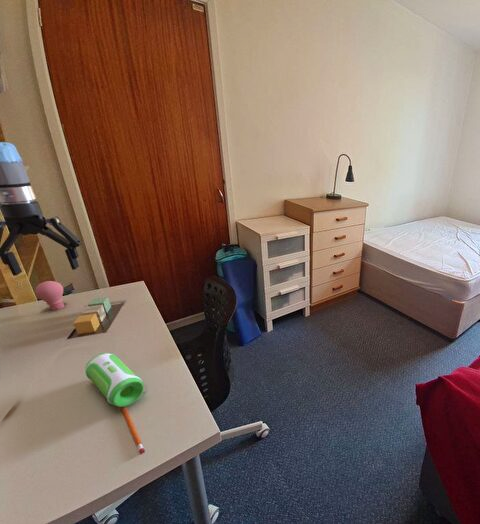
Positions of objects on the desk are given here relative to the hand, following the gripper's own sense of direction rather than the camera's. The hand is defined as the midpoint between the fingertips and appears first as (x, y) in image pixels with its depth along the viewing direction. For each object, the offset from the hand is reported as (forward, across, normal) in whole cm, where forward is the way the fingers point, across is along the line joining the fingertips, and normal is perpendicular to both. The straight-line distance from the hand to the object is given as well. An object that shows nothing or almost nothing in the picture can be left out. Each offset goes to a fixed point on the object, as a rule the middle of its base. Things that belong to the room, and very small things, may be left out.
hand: (47, 270), depth 86 cm
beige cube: (+22, +5, +4) cm, 23 cm away
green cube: (+22, +5, +10) cm, 24 cm away
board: (+23, +5, +4) cm, 24 cm away
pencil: (+23, +27, -47) cm, 59 cm away
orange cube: (+22, +5, -2) cm, 22 cm away
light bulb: (+23, -11, +18) cm, 31 cm away
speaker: (+23, +21, -34) cm, 46 cm away
